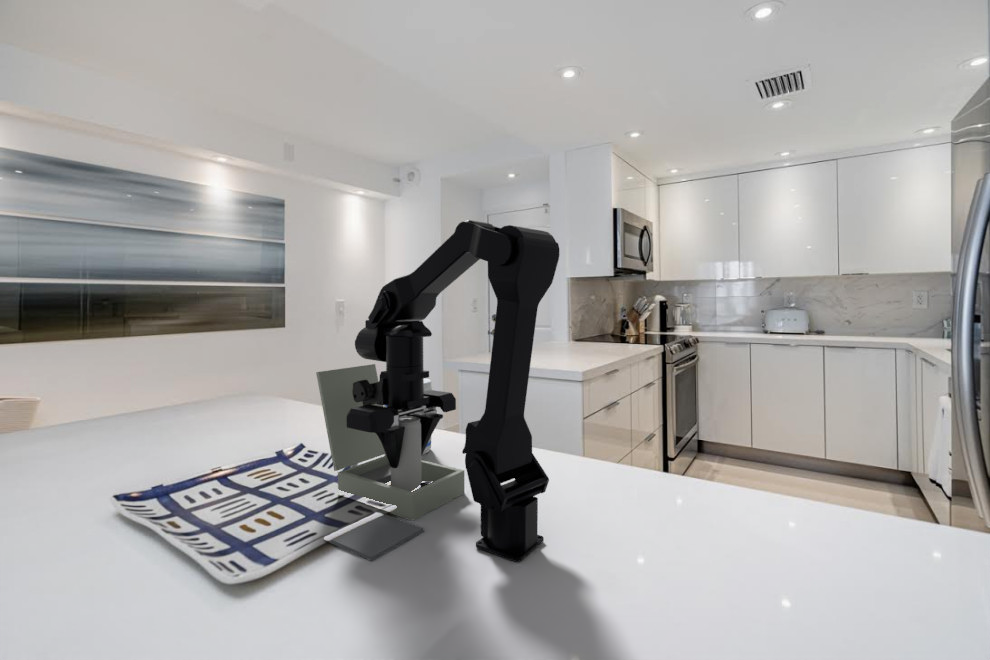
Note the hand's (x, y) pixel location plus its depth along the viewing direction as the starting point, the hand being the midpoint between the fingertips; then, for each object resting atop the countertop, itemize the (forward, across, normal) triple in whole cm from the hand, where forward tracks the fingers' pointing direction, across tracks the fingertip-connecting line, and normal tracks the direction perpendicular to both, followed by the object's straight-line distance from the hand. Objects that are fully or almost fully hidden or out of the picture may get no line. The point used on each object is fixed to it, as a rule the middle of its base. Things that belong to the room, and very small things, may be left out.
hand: (405, 463), depth 77 cm
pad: (+5, +12, +6) cm, 14 cm away
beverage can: (+5, 0, 0) cm, 5 cm away
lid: (-6, 0, -11) cm, 13 cm away
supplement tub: (+5, -17, -16) cm, 24 cm away
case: (+5, 0, -1) cm, 5 cm away
